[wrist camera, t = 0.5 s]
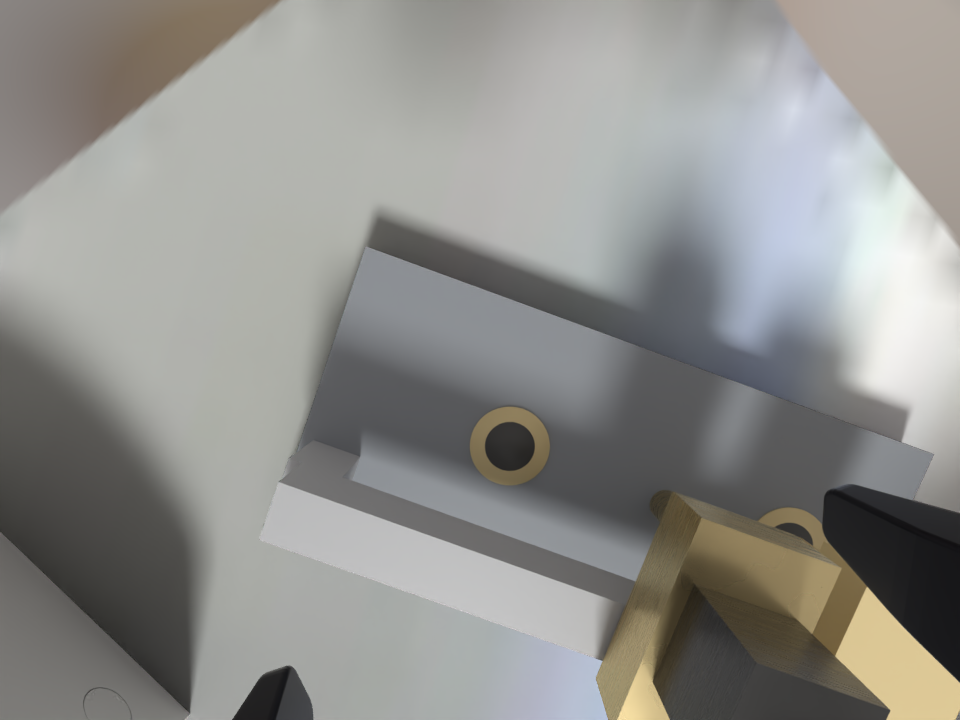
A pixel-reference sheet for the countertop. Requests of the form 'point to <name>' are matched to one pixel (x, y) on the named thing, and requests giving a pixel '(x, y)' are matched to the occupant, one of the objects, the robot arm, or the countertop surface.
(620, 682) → the block
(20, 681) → the white curved block
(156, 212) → the countertop surface
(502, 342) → the plate
